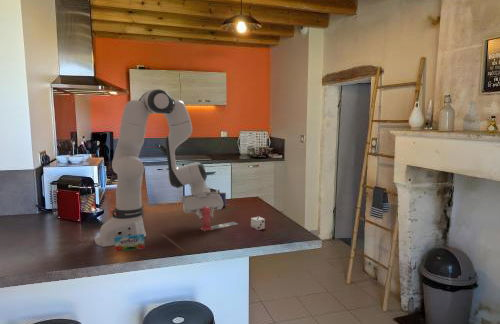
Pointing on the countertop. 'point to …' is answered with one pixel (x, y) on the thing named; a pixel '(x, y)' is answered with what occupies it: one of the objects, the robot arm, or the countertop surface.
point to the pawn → (206, 218)
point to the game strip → (221, 225)
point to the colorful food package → (129, 242)
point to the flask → (223, 197)
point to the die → (258, 223)
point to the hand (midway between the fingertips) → (206, 217)
